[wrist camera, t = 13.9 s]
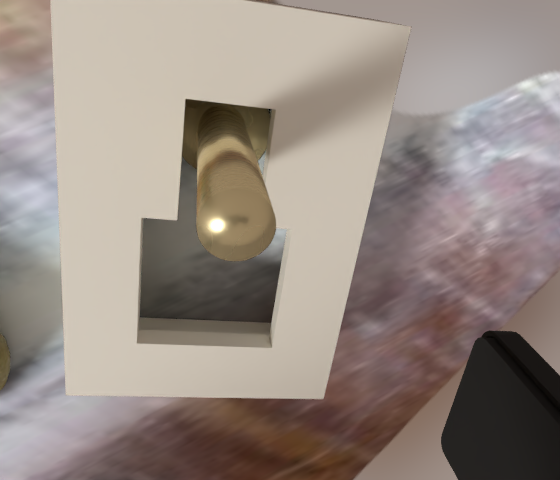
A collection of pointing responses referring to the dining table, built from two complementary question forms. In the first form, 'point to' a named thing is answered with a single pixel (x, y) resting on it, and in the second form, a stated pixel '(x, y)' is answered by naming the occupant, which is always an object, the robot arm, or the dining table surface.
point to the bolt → (229, 177)
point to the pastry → (4, 361)
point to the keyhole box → (167, 170)
